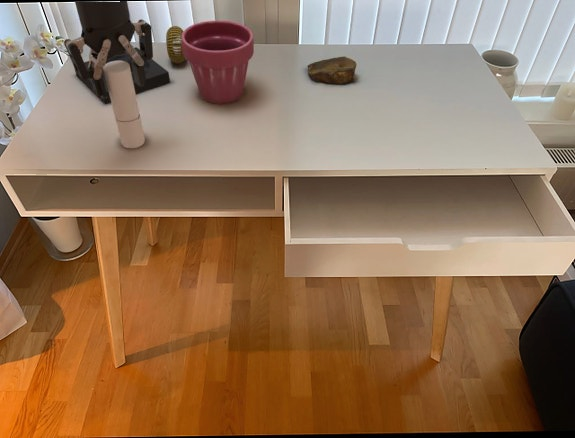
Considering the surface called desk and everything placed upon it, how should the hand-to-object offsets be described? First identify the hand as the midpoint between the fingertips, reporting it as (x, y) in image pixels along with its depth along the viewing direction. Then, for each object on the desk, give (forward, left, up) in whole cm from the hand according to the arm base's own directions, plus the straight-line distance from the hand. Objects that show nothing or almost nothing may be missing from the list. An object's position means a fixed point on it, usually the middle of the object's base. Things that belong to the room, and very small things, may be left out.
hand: (121, 90), depth 88 cm
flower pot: (+23, +5, -11) cm, 26 cm away
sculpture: (+23, +23, -11) cm, 34 cm away
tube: (0, 0, -11) cm, 11 cm away
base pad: (+9, +23, -11) cm, 27 cm away
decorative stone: (+47, -3, -11) cm, 48 cm away
